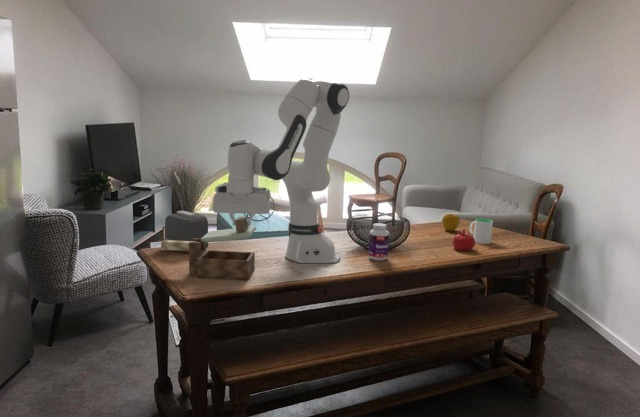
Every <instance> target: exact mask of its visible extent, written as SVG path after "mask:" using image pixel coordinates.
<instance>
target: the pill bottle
mask: <svg viewBox="0 0 640 417" xmlns="http://www.w3.org/2000/svg"><path fill="white" fill-rule="evenodd" d="M387 228H388V225H387V224H385V223H380V222H378V223H377V222H376V223H373V224H372V229H371V230H370V231H369V235H368V237H369V238H368V239H369V240H368V254H367V255H368V256H367V257H368V258H369V260H373V261H377V262H378V261H380V262H382V261H386V260H387V259H388V258H389V245H390V244H389V243H390V232H389V230H387Z"/></svg>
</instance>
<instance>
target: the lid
mask: <svg viewBox="0 0 640 417" xmlns="http://www.w3.org/2000/svg"><path fill="white" fill-rule="evenodd" d="M235 219H236V220H235V225H234V226H235V228H234V227H233V228H227V229H218V230H216V229H215V230H208V233H207V234H206V235H205V236H203V237H202V238H201V240H202V241H205V242H206V243H208V244H209V243H217V242H218V243H219V242H226V241H227V242H228V241H236V240H237V241H238V240H247V239H249V238H251V236H252V235H253V234H254V233H255V231H256V230H257V225H256V226H253V225H252V226H246V220H249V219H248V215H244V216H238V218H237V217H236V218H235Z"/></svg>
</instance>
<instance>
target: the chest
mask: <svg viewBox="0 0 640 417" xmlns="http://www.w3.org/2000/svg"><path fill="white" fill-rule="evenodd" d="M193 241H195V242H189V253H188V275H189V276H197V278H198V279H209V280H210V279H215V280H231V281H232V280H233V281H249V280H250V279H251V277H252V275H253V274H254V272H255V267H256V266H255V262H256V259H255V258H256V255H255V253H256V252H255V251H236V250H235V251H234V250H220V249H219V250H217V249H216V250H214V249H207V250H206V249H205V241H202V240H201V238H194V239H193Z"/></svg>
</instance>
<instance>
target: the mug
mask: <svg viewBox="0 0 640 417" xmlns="http://www.w3.org/2000/svg"><path fill="white" fill-rule="evenodd" d="M493 223H494V221H493V219H492V220H491V219H489V218H488V219H487V218H475V220H474V221H471V222H470V224H469V228H468V229H469V233H471V234H470V235H471V236H473V238H474V239H475V244H476V243H477V244H482V245H488V244H491V243H492V236H493V234H492V232H493V225H494V224H493ZM473 225H474V229H473Z"/></svg>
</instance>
